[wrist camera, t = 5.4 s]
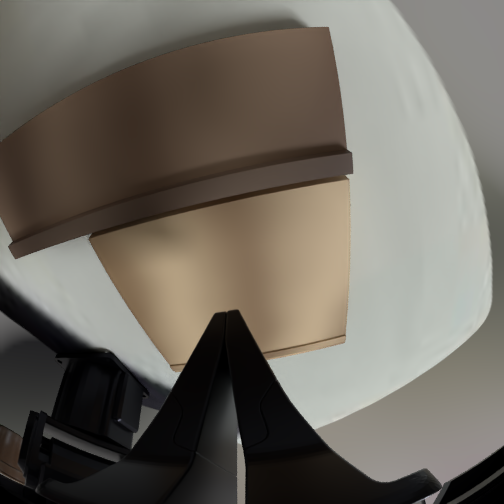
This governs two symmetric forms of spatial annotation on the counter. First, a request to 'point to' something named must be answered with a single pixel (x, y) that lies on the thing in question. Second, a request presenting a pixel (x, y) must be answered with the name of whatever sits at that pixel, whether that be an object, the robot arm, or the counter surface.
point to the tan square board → (239, 268)
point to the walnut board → (176, 136)
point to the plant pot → (10, 454)
